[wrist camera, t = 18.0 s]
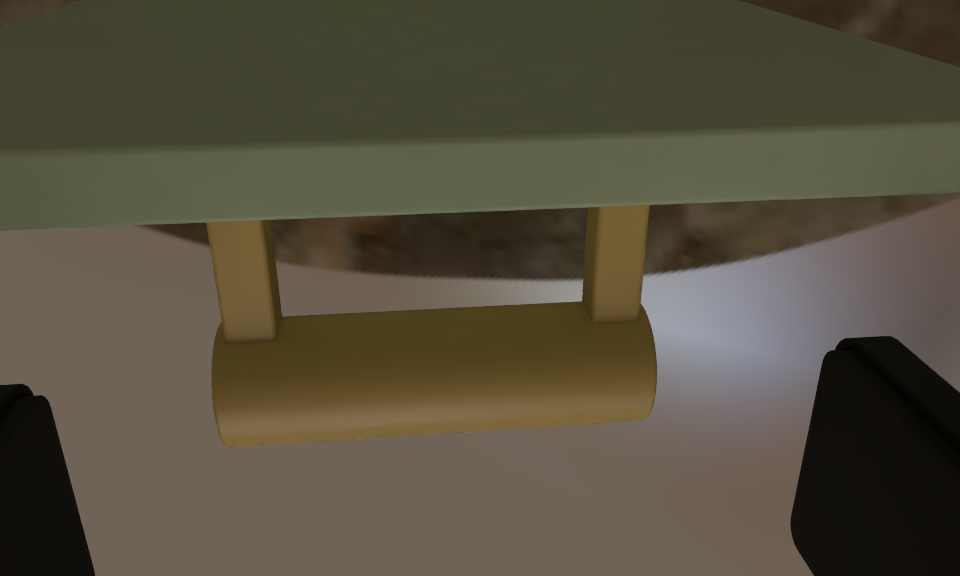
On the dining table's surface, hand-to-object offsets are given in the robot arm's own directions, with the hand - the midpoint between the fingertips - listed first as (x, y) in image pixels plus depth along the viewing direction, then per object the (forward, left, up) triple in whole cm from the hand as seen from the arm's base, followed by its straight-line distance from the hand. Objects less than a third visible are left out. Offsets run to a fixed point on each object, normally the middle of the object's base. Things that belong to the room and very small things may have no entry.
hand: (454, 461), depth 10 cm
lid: (-4, 0, -8) cm, 9 cm away
